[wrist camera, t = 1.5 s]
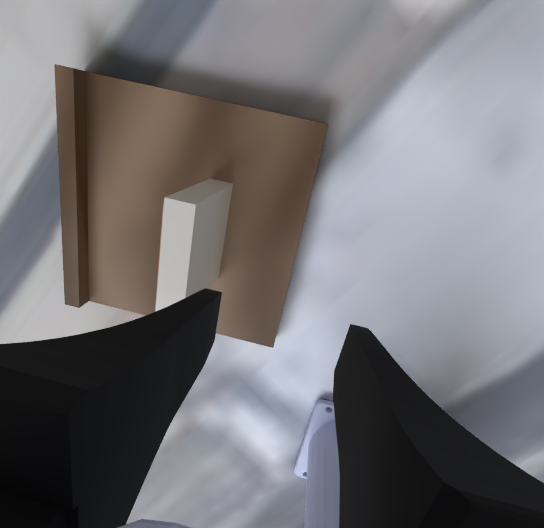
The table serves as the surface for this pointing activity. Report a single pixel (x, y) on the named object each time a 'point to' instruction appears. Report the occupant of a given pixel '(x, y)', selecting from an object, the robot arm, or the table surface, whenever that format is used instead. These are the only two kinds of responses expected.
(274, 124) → the board
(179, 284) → the tile
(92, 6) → the table surface
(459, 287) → the table surface
